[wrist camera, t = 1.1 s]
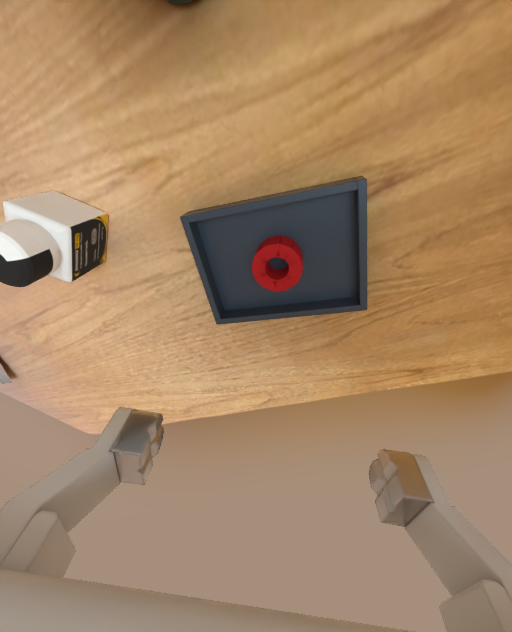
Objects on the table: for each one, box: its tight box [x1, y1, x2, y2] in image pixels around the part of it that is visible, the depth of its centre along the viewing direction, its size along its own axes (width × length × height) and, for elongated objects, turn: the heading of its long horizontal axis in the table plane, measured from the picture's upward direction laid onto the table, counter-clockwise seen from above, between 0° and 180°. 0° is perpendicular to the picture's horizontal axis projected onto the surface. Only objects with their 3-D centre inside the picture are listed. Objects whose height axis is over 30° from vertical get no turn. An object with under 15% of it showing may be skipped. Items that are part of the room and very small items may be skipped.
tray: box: [180, 176, 367, 324], centre depth 33 cm, size 20×15×3 cm
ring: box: [252, 235, 303, 292], centre depth 32 cm, size 6×6×3 cm
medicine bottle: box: [0, 191, 108, 287], centre depth 31 cm, size 7×7×12 cm
